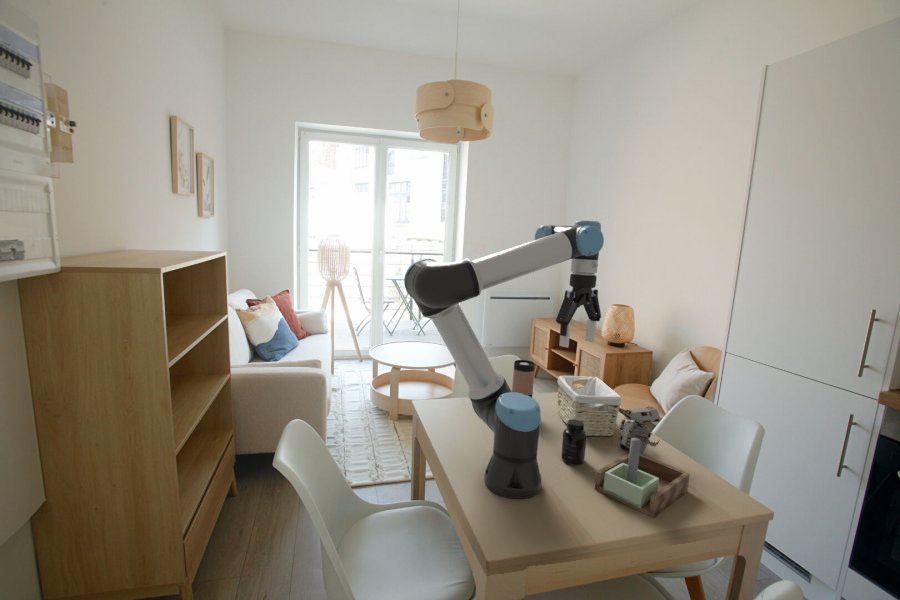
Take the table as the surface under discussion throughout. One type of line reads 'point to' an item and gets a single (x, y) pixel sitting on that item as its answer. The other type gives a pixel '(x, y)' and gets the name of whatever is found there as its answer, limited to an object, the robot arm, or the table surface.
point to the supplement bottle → (574, 443)
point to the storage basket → (589, 404)
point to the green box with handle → (631, 480)
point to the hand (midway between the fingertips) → (577, 343)
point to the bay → (669, 484)
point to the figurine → (638, 427)
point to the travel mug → (523, 377)
